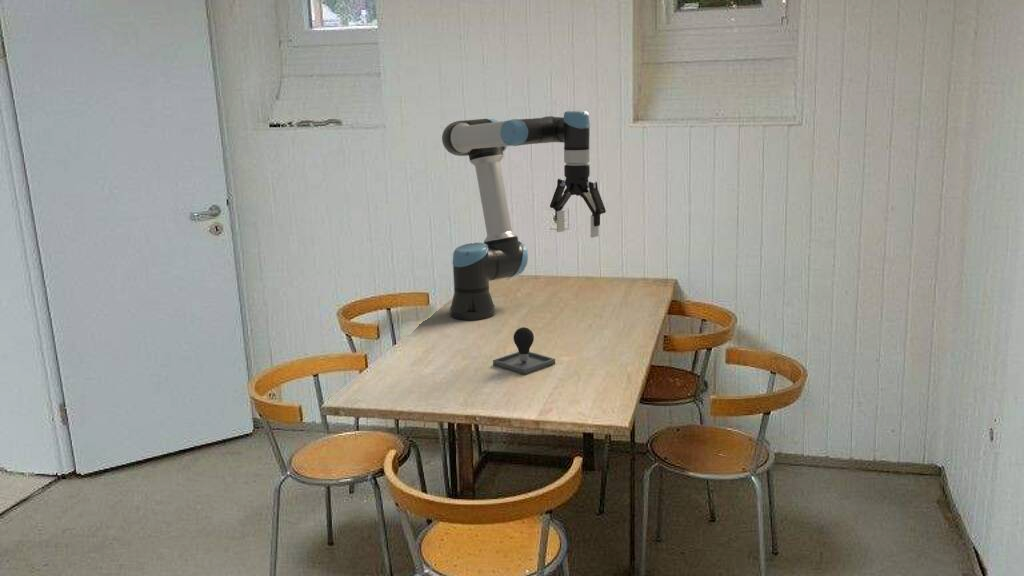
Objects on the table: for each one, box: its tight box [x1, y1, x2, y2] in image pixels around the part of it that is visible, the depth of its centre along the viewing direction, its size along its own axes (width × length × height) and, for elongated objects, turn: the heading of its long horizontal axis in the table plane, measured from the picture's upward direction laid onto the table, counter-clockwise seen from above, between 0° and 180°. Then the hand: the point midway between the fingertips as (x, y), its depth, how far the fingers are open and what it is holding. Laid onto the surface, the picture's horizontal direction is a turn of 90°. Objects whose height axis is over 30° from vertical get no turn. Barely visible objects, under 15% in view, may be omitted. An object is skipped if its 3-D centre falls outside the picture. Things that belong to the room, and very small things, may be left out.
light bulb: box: [513, 327, 535, 363], centre depth 251 cm, size 6×6×10 cm
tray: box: [492, 351, 556, 376], centre depth 252 cm, size 12×12×2 cm
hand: (577, 234), depth 275 cm, fingers open, 13 cm apart
